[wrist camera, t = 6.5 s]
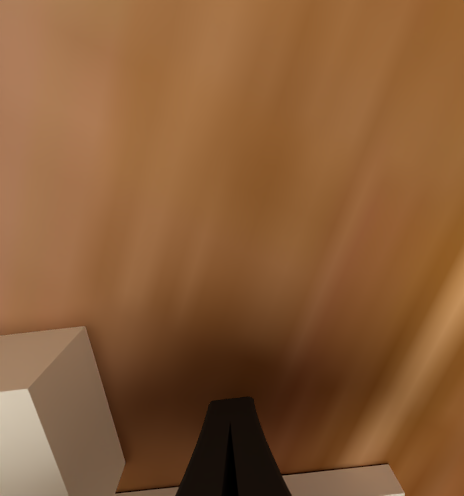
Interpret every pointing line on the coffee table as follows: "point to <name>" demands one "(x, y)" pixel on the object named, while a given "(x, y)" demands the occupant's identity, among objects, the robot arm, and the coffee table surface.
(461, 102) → the coffee table surface
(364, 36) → the coffee table surface
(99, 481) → the white and teal box
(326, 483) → the board
